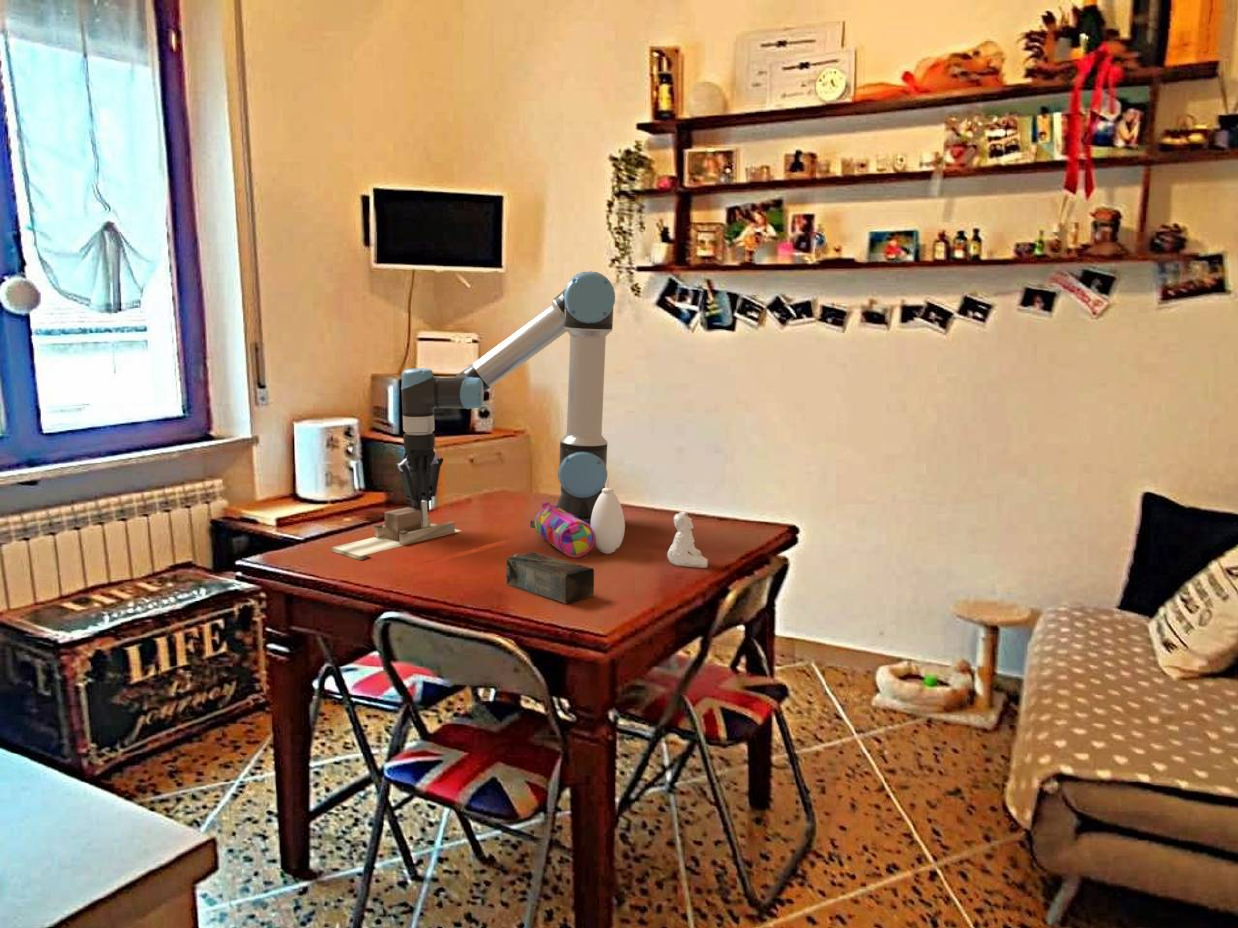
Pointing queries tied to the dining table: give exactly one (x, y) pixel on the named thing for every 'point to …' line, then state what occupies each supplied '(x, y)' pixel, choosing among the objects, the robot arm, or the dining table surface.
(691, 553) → the white creature statuette
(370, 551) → the railed wooden board
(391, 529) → the walnut block
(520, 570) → the dark grey block
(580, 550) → the pencil case
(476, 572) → the dining table surface
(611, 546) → the sauce bottle
